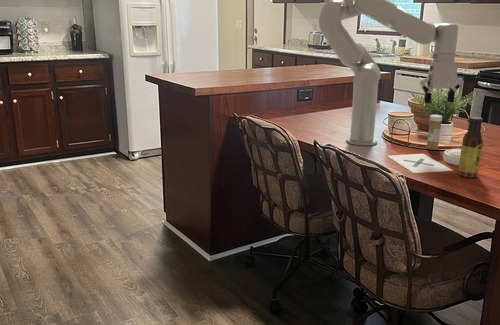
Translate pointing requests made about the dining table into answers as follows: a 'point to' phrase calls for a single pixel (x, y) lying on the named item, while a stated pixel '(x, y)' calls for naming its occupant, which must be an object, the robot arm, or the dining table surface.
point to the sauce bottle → (471, 149)
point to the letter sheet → (419, 163)
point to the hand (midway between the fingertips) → (438, 102)
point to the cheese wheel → (452, 156)
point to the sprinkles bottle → (434, 132)
